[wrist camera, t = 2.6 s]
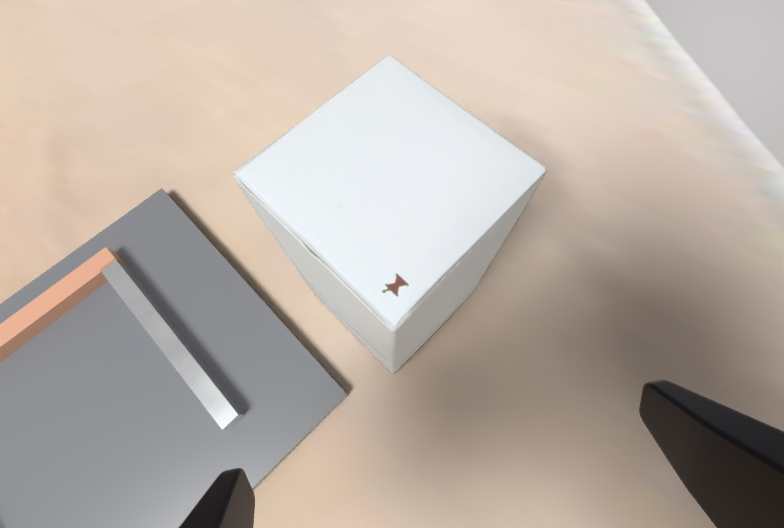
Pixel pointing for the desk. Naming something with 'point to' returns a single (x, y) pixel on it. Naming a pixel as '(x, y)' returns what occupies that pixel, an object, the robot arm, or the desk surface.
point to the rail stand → (145, 380)
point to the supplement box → (390, 205)
